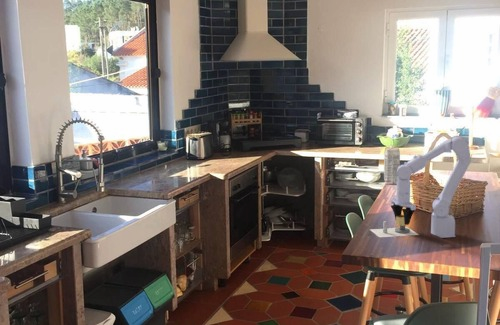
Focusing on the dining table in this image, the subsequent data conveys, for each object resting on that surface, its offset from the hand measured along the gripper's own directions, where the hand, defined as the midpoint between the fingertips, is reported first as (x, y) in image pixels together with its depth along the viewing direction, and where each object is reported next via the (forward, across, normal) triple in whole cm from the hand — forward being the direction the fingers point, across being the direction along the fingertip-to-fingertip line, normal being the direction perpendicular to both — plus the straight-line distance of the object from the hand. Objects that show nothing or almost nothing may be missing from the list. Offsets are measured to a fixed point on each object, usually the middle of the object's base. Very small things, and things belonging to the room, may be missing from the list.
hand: (402, 222), depth 247 cm
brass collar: (+1, 0, 0) cm, 1 cm away
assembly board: (+5, -1, -4) cm, 7 cm away
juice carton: (+5, -87, +63) cm, 108 cm away
